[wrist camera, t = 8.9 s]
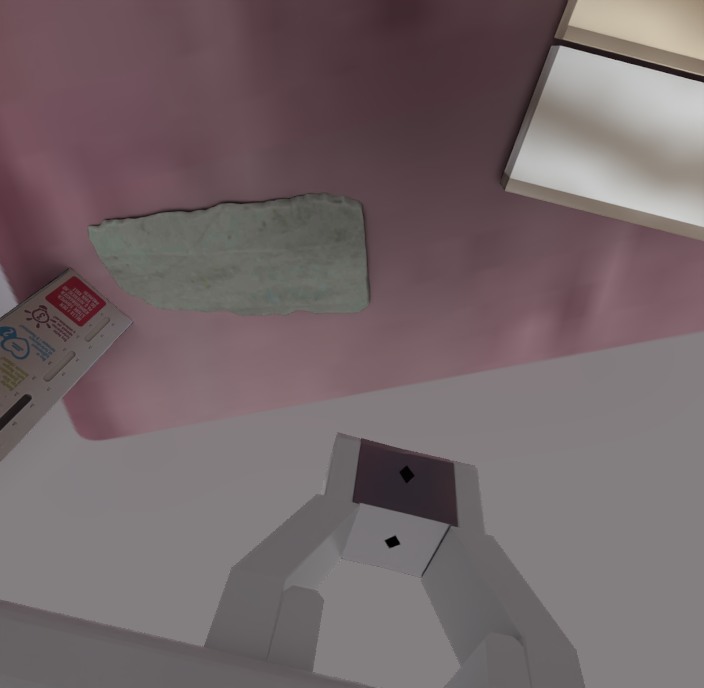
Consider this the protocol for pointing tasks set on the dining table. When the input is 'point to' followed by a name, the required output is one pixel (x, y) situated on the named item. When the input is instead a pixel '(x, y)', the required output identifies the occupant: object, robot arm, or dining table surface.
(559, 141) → the board
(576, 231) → the dining table surface
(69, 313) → the carton
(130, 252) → the stone slab
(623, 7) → the thin beige board
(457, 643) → the robot arm
